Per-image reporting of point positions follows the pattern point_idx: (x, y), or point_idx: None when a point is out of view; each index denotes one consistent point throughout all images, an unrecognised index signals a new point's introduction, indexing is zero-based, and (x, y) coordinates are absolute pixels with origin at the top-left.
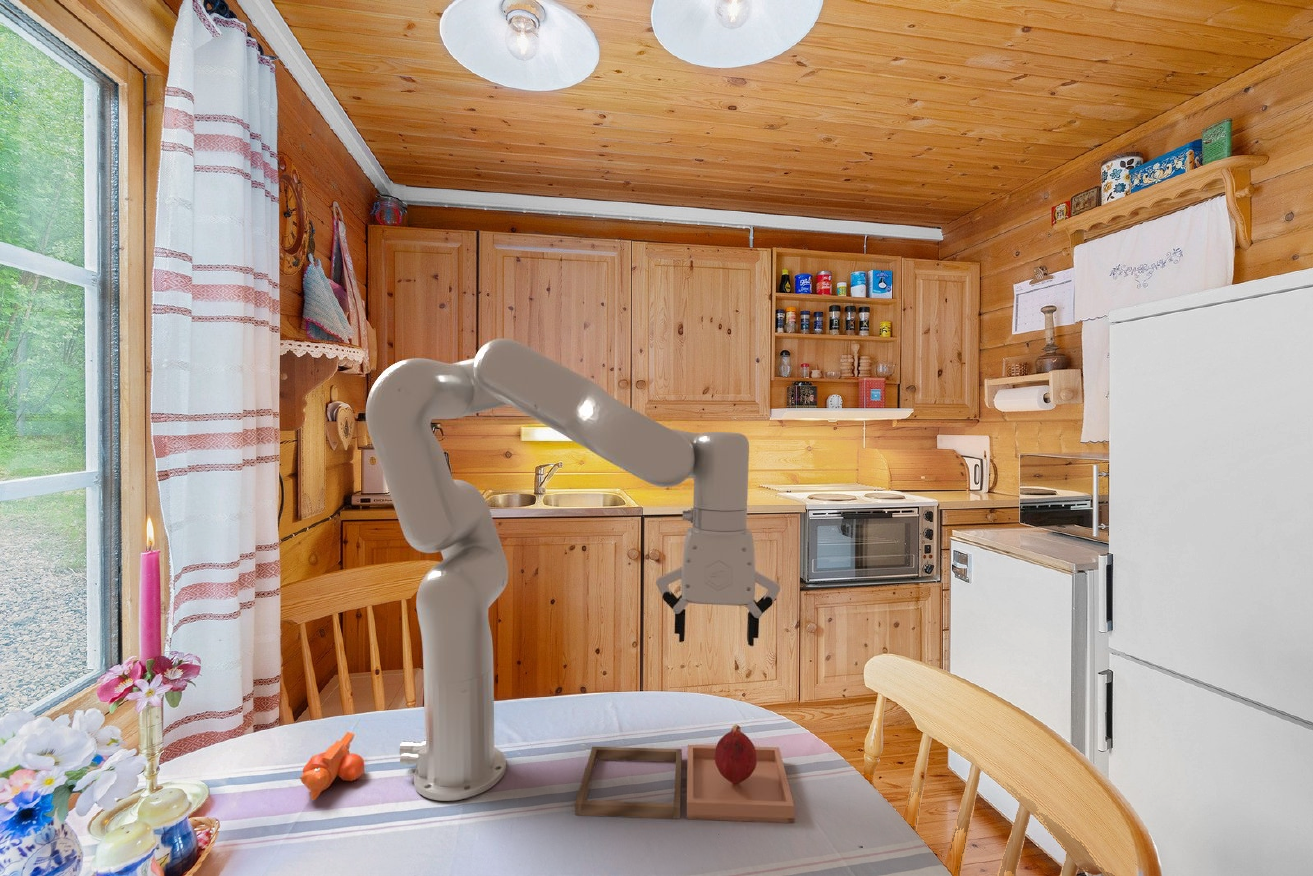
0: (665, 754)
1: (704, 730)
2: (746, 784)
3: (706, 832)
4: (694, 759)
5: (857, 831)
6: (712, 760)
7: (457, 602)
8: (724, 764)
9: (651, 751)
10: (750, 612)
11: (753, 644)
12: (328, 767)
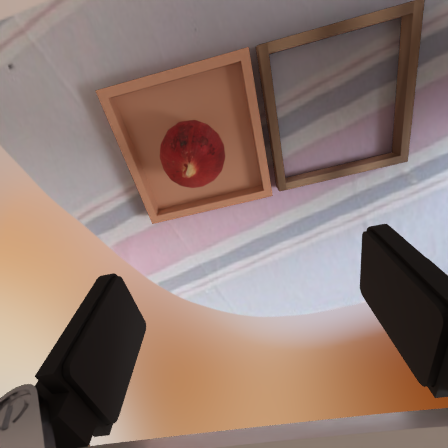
0: (299, 178)
1: (258, 252)
2: None
3: (212, 27)
4: (259, 183)
5: (25, 99)
6: (235, 187)
7: None
8: (203, 124)
9: (320, 174)
10: (61, 417)
11: (98, 278)
12: None
